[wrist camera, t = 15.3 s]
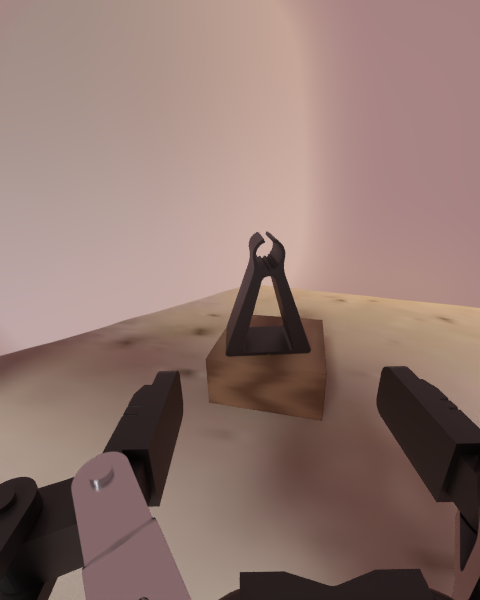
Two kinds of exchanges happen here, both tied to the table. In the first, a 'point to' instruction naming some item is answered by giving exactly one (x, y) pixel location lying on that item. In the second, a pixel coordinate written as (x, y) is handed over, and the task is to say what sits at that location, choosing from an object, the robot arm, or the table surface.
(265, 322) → the walnut block
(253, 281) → the phone stand
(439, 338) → the table surface
